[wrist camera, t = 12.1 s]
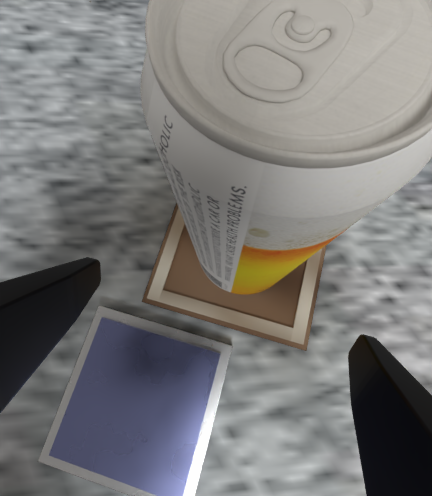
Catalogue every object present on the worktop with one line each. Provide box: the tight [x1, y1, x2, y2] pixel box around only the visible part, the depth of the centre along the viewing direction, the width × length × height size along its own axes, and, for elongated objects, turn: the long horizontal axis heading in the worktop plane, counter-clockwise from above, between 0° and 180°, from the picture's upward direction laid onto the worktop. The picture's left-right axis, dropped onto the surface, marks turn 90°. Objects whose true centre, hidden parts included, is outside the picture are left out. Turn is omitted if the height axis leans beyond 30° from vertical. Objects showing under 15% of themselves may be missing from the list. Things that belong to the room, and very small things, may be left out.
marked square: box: [142, 203, 326, 351], centre depth 19 cm, size 11×11×1 cm
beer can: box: [141, 0, 432, 295], centre depth 12 cm, size 6×6×15 cm
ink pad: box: [38, 306, 233, 496], centre depth 16 cm, size 9×9×1 cm
